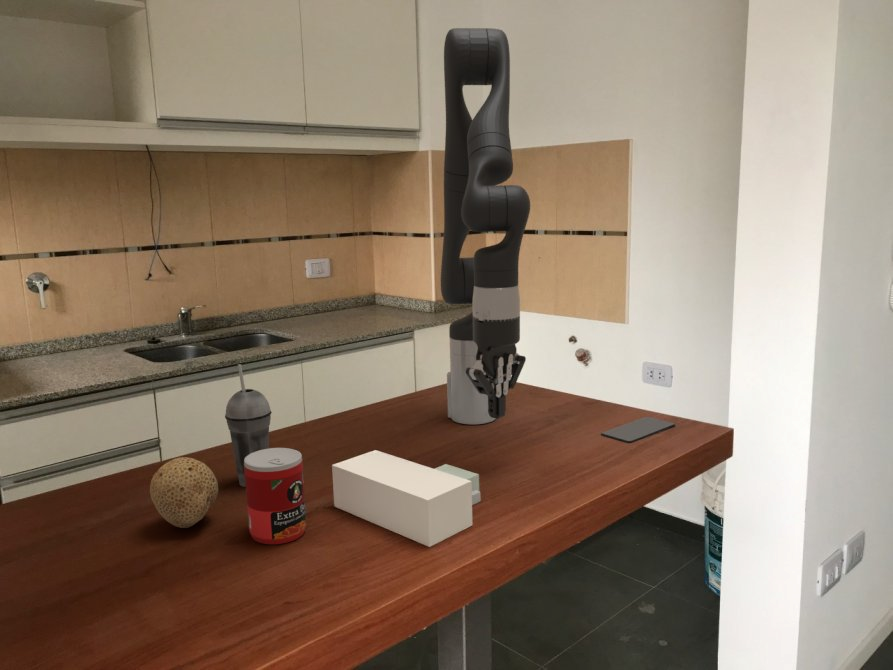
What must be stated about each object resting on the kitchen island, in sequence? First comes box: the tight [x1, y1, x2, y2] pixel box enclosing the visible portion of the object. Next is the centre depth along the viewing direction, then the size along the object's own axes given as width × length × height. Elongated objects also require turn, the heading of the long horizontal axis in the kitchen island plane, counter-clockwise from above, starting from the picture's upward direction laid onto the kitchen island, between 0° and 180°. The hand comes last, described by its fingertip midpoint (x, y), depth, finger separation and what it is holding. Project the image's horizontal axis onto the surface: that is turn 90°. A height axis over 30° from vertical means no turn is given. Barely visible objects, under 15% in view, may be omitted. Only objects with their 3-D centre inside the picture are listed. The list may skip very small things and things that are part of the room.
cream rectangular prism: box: [331, 449, 482, 548], centre depth 107 cm, size 20×16×6 cm
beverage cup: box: [224, 363, 272, 488], centre depth 117 cm, size 7×7×20 cm
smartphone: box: [600, 416, 676, 444], centre depth 140 cm, size 7×1×15 cm
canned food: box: [244, 447, 307, 545], centre depth 100 cm, size 8×8×11 cm
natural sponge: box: [149, 456, 219, 529], centre depth 103 cm, size 9×9×10 cm
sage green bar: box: [434, 463, 480, 491], centre depth 109 cm, size 7×16×3 cm, turn 136°
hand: (496, 416), depth 120 cm, fingers closed
